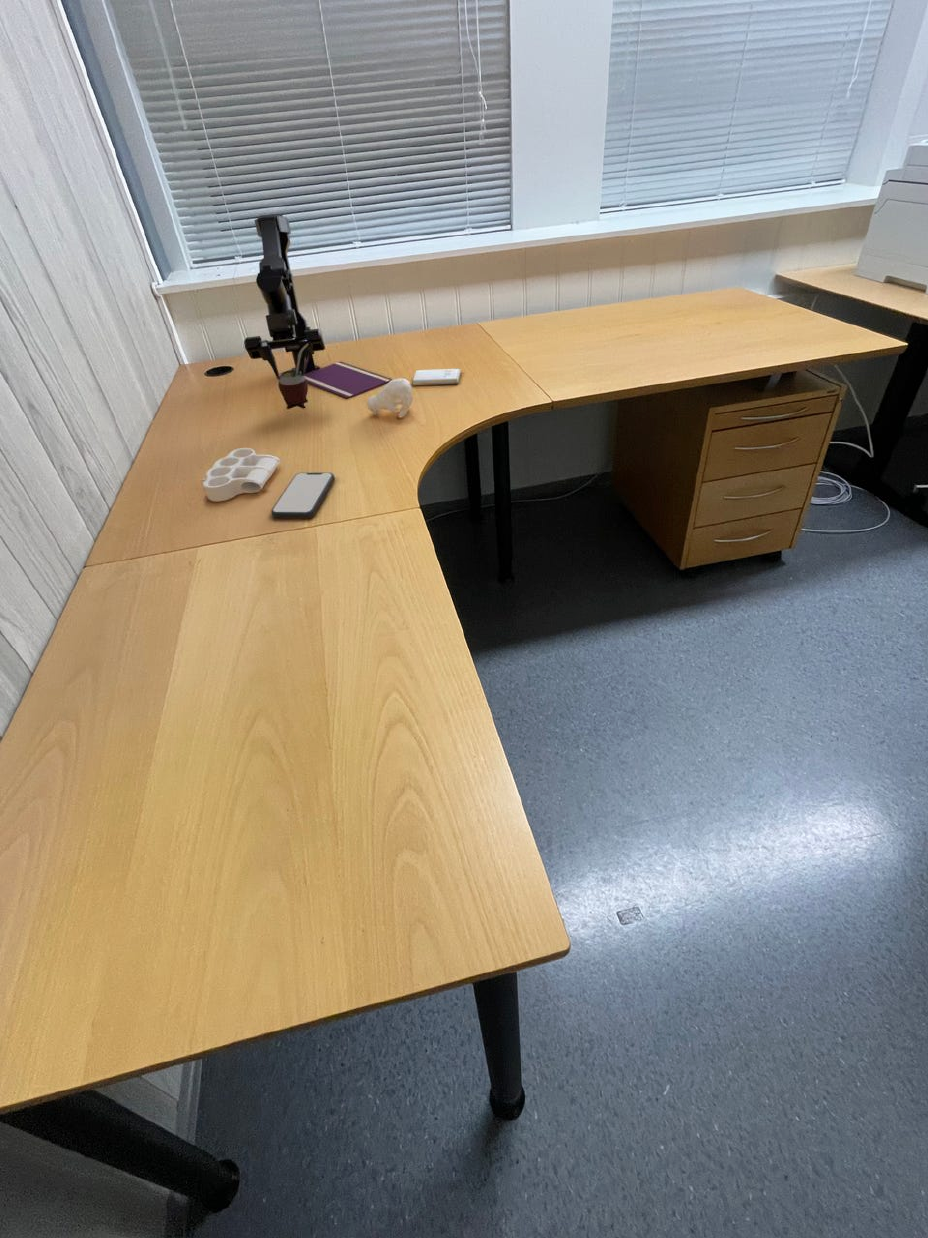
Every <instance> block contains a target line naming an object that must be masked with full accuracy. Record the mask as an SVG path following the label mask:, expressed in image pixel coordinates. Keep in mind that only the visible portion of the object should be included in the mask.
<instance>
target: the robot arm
mask: <svg viewBox="0 0 928 1238" xmlns="http://www.w3.org/2000/svg"><path fill="white" fill-rule="evenodd" d="M254 225H255V229H256V233H257V236H258V237H259V238H260V239H261V244H262V253H263V258H261V260H260V261H259V262H258V268H259V272H257V274H256V275H257V276H256V279H255V283H256V286H257V287H258V290H259V292H260V294H261V296H262V299H263V300H264V302H265V303H266V306H267V312H268V314H267V315H265V320H266V325H267V330H268V333H269V336H270V338H271V339H272V340H267V339H262V337H261V336H260V335H255V336H249V337H245V338H244V340H243V344H244V349H245V351H246V353H247V354H248V356H249V358H250V359H252V360H256V359H257V360H258V359H261V360H263V361H267V362H268V364H269V365H270V367H271V368H272V371H273V373H274V375H275V377H276V379H277V380H279V377H280V373H279V369H278V365H277V361H276V357H275V355H274V353H273V351H272V350H278V349H284V350H285V353H291V356H292V359H293V363H294V367H291V369H290V370H296V368H297V361H298V353H299V352H300V350H301V349H302V348H303V347H304V346H305V345H306V344H308V346H307V347H306V348H305V349H304V350H303V352H302V355H301V358H300V364H299V370H298V371H300V372H301V374H302V376H304V374H307V373H310V372H313V371H315V370H318V369H321V367H320V366H319V365H317V364H315V360H314V356H313V355H315V352H321V351H325V350H326V344H325V339H324V337H323V333H322V331H321V329H320V328H312V329H311V326H309V325H308V320H307V319H306V318H305V317H304V316H303V315H302V313H301V312H300V309H299V303H298V299H297V293H296V290H295V285H294V276H293V274H292V270H291V265H290V261H289V257H288V251H289V248H290V245H291V237H290V235H292V231H291V226H290V222H289V219H288V217H287V216H284V215H283V214H275V213H270V214H263V215H259V216H258V217H257V219H256V218H255V219H254Z"/></svg>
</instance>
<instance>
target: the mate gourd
mask: <svg viewBox="0 0 928 1238" xmlns="http://www.w3.org/2000/svg"><path fill="white" fill-rule="evenodd" d="M307 346H308V344H306V345H305V346H304V347H303V348H302V349H301V350H300V352H299V353H298V361H297V368H296V370H291V369H289V370H285V371H283V372H281V373H280V374H279V379H277V380H278V384H277V385H278V389H279V392H280V394H281V396H282V397H283V400H284V402H285V405H286V409H287V410H291V409H293V408H296V407H297V408H301V409H302V410H305V409H306V407H307V406H306V405H305V404H306V403H308V401H309V399H307V395H308V391H309V384H308V383H307V381H306V378H305V376H302V374H301V372H300V371H298V370H299V364H300V358H301V355H302V352H303V350H304V349H305V348H306V347H307Z"/></svg>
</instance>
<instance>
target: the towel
mask: <svg viewBox="0 0 928 1238" xmlns="http://www.w3.org/2000/svg"><path fill="white" fill-rule="evenodd" d="M304 376H305V378H306V381H307V384H308V385H310V386H314V387H316V388H319V389H321V390H323V391H327V392H328V393H331V394H334V395H336V396H339V397H341V398H343V399H346V400H348V399H350V398H354V397H355V396H358V395H361V394H364V393H365V392H368V391H370V390H373V389H376V388H379V387H381V386H383V385H384V386H385V385H386V384H388V383H389V382H390V381H391V380H394V379H392V378H389V377H387V376H384V375H380V374H378V373H374V372H372V371H369V370H366V369H363V368H361V367H357V366H354V365H352V364H348V363H345V362H342V361H338V362H334V363H332V364H329V365H327V366H324V367H320V369H317V370H314V371H312V372H309V373H306V374H304Z"/></svg>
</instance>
